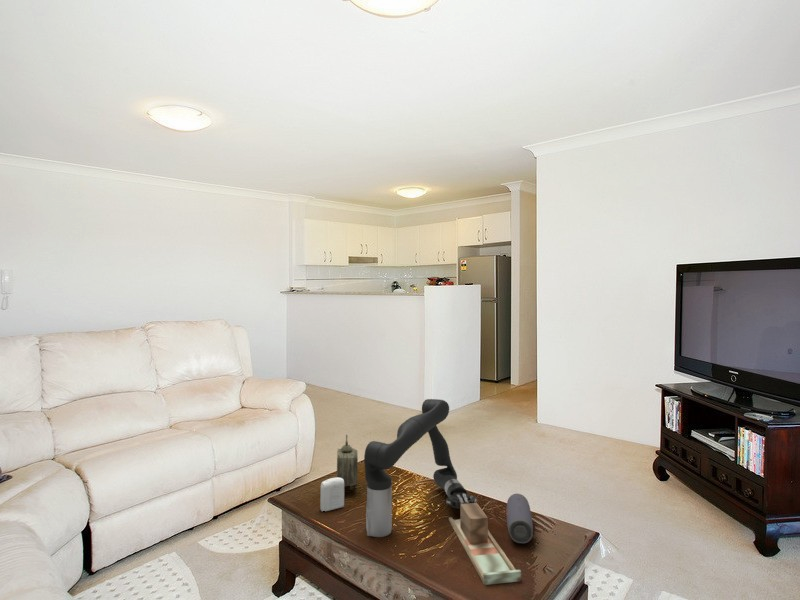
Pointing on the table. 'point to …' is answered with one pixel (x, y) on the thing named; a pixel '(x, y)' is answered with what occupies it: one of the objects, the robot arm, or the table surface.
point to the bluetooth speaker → (519, 519)
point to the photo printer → (332, 494)
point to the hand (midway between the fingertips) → (468, 510)
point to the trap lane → (488, 559)
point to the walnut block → (474, 523)
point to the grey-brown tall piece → (347, 465)
